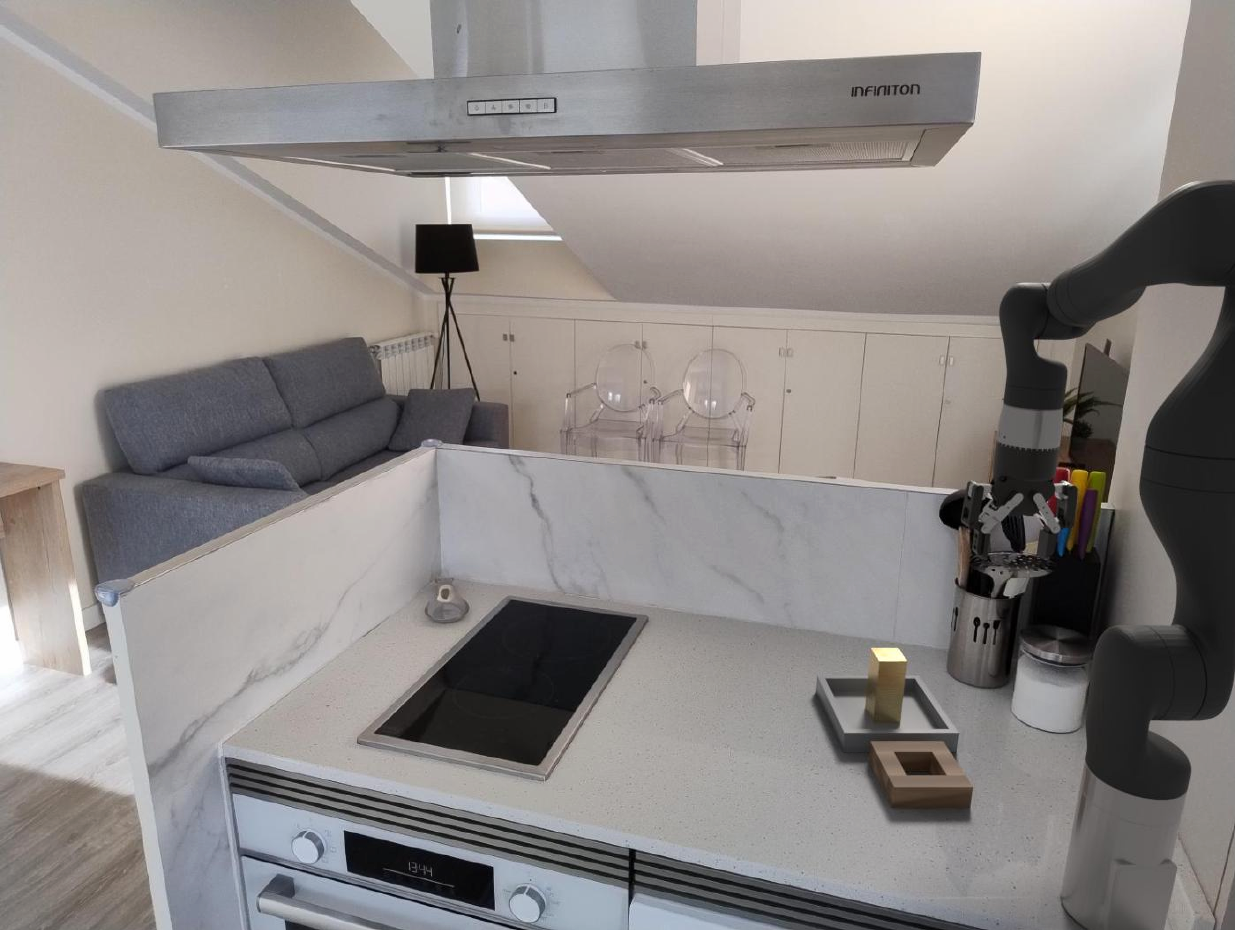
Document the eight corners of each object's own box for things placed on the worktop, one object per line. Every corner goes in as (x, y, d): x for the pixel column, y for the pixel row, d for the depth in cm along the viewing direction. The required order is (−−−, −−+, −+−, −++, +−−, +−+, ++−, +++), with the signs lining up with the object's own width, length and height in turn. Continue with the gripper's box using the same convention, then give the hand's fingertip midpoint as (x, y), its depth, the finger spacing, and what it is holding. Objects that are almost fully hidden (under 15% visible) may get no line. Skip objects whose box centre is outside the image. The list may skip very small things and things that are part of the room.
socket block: (970, 807, 111) (973, 787, 110) (891, 807, 111) (894, 787, 110) (940, 760, 120) (943, 741, 120) (868, 760, 120) (870, 741, 119)
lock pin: (900, 723, 128) (907, 661, 125) (873, 723, 128) (879, 661, 125) (891, 708, 132) (897, 647, 129) (864, 708, 132) (870, 647, 129)
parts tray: (956, 752, 122) (959, 733, 122) (842, 752, 122) (844, 733, 121) (916, 692, 138) (918, 675, 137) (815, 692, 137) (817, 675, 137)
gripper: (987, 446, 110) (972, 568, 114) (1098, 446, 110) (1079, 567, 114) (961, 433, 117) (948, 548, 121) (1065, 433, 118) (1049, 547, 122)
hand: (1012, 557), depth 118 cm, fingers open, 8 cm apart
